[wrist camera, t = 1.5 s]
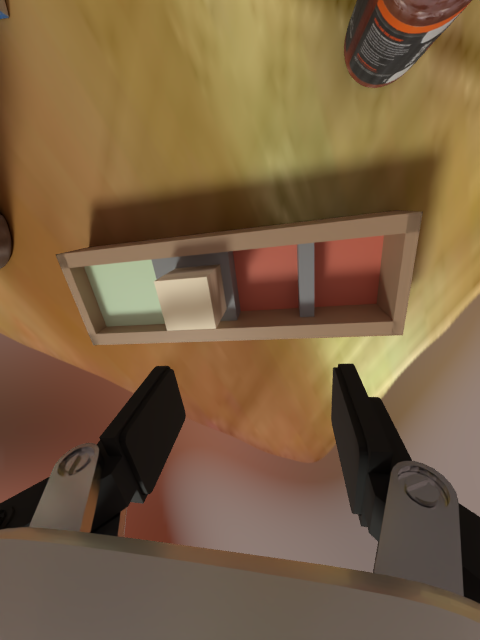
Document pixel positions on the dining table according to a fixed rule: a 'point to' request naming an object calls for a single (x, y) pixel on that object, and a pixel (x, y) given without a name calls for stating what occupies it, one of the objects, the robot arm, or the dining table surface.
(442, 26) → the supplement bottle
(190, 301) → the birch block
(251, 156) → the dining table surface
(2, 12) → the stack of blocks
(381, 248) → the track
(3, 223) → the plant pot
